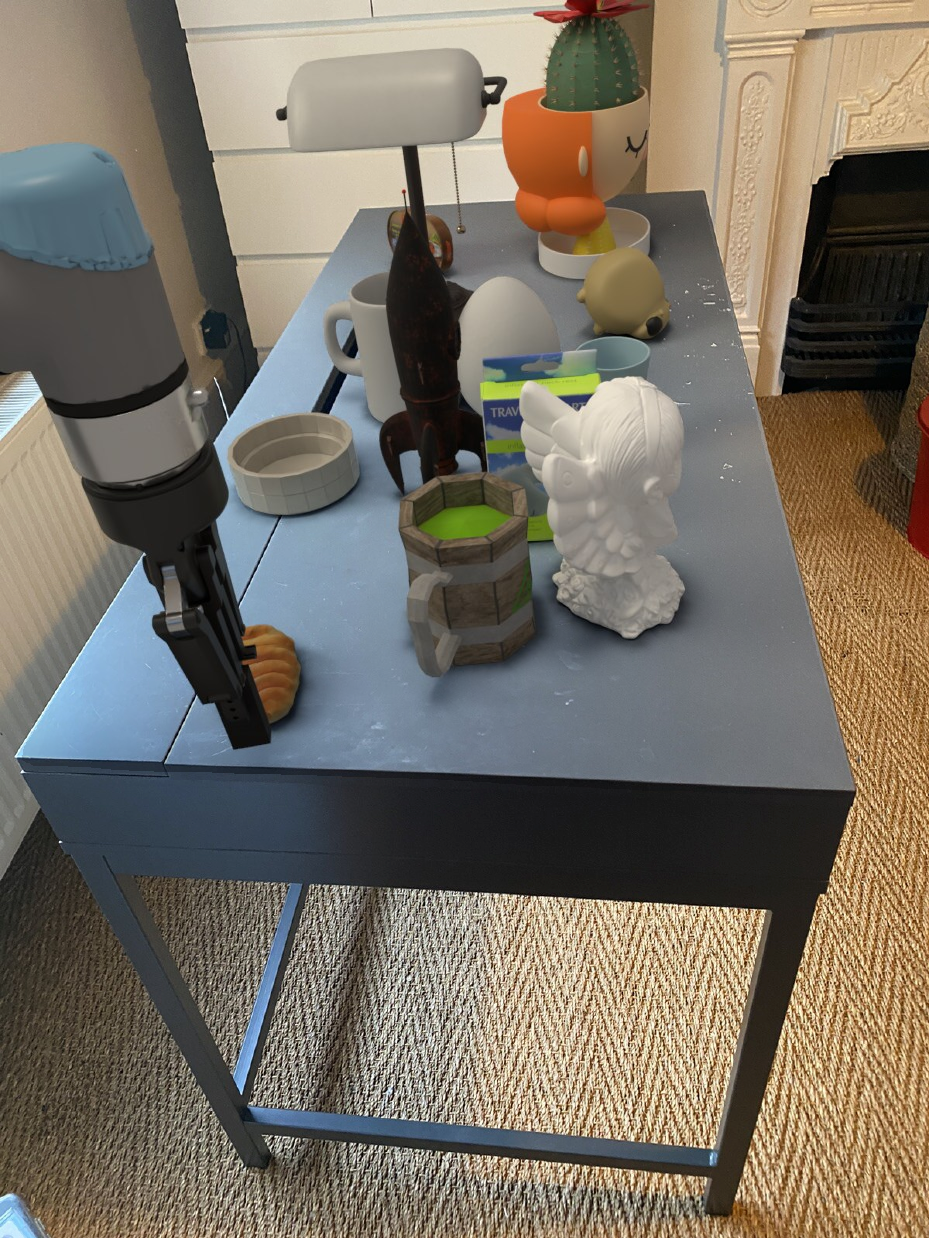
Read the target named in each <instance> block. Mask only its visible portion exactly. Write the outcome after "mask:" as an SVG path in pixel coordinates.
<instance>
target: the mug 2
mask: <svg viewBox="0 0 929 1238" xmlns="http://www.w3.org/2000/svg"><path fill="white" fill-rule="evenodd" d="M398 511H399V512H398V525H397V527H398V533H399V536H400V539H401V542H402V545H403V548H404V553H405V557H406V564H407V572H408V574H407V575H408V587H409V588H408V593H407V595H406V618H407V622H408V625H409V628H410V632H411V635H412V639H413V640H412V641H413V646H414V651H415V656H416V659H417V663H418V666H419V668H420V670H421V671H422V673H424V674H425V675H426V676H428V677H430V678H441V677H442V676H443V675H445V674H446V673H447V672H448V671H449V670H450V668H451V666H464V665H476V664H477V665H479V664H488V663H500V662H505V661H506V660H508V659H509V658H510V657H511V656H512V655H513V654H515V653H516V652H517V651H518V650H520V649H521V648H522V647H523V646H524V645H526V644H527V643H528V642H529V641H531V640H532V639H533V638H534V637H536V636H537V627H536V616H535V609H534V601H533V597H532V595H533V573H532V565H531V555H530V549H529V541H527V531H528V510H527V502H526V494H525V488H524V487H522V486H520V485H517V484H515V483H512V482H510V481H508V480H505V479H503V478H501V477H498V476H496V475H493V474H491V473H489V472H482V471H479V472H468V473H458V474H451V475H448V476H438V477H435V478H434V479H432V480H430V481H429V482H427V483H426V484H424V485H423V484H422V485H421V486H420V487H418V488H416V489H414V490H413V491H412V492H409V493H408V494H407V495H404V496H403V497H402V498H400V499H399V510H398Z"/></svg>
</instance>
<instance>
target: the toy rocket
mask: <svg viewBox="0 0 929 1238" xmlns="http://www.w3.org/2000/svg"><path fill="white" fill-rule="evenodd" d="M401 193H402V194H403V201H404V209H406V212H405V215H404V219H403V222H402V226H401V229H400V233H399V236H398V240H397V243H396V247H395V250H394V254H393V253H392V258H391V264H390V268H389V270H390V272H389V278H388V285H387V292H386V299H385V300H386V313H387V320H388V328H389V334H390V339H391V344H392V348H393V353H394V358H395V363H396V367H397V372H398V376H399V380H400V385H401V388H400V394H399V395H401V398H402V399H403V400H404V401H405V405H406V409H407V410H405V411H402V412H399V413H396V414H394V415H392V416H391V417H389V418H388V419H387V420H386V421H385V422H384V423H383V422H382V425H381V427H380V429H379V433H378V443H379V444H378V445H379V448H380V453H381V457H382V460H383V462H384V464H385V467H386V468H387V471H388V472H389V474H390V476H391V479H392V481H393V482H394V484H395V485H396V487H397V489H398V490H399V492H400V493H401V495H402V496H403V497H405V495H406V494H405V491H406V490H405V481H404V475H403V470H402V464H401V455H402V454H404V453H408V452H413V451H417V455H418V457H419V459H420V460H419V462H420V463H419V464H420V465H419V470H420V473H421V480H422V486H423V485H424V484H426V483H427V482H429V481H430V480H432V479H434V478H435V477H438V476H448V475H454V474H455V473H456V472H457V471H458V470H459V468H460V464H459V462H458V461H457V459H456V456H457V455H458V453H459V452H460V451H465V452H469V453H473V454H474V455H476V456H477V457H478V459H479V462H480V468H481V472H488V467H487V456H486V446H485V436H484V425H483V416H481V415H479V414H478V413H475V412H472V411H469V410H465V409H461V408H460V407H459V404H460V402H459V400H458V394H459V392H460V393H461V391H460V390H461V388H460V381H459V380H458V366H457V360H459V357H460V352H461V343H462V342H461V327H460V323H459V321H455V319H454V311H453V303H452V298H451V295H450V292H449V291H450V290H449V289H448V286H447V283H446V281H447V280H446V281H445V279H446V278H445V276H444V274H443V272H442V271H441V269H440V267H439V265H438V263H437V261H436V259H435V257H434V255H433V253H432V251H431V249H430V248H429V246H428V244H427V242H426V241H425V239H424V238H423V236H422V234H421V233H420V231H419V229H418V228H417V226H416V224H415V223H414V221H413V219H412V218H411V216H410V214H409V213H408V211H407V208H408V204H407V197H406V194H407V191H406V189H404V188H403V189H402V190H401Z"/></svg>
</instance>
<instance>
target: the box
mask: <svg viewBox="0 0 929 1238" xmlns="http://www.w3.org/2000/svg"><path fill="white" fill-rule="evenodd" d="M540 359H542V360H543V361H544V362H557V363H559V367H558V368H556V369H549V370H535V371H523V370H522V369H521V367H522V365H524V364H529V363H536V361H538V360H540ZM482 364H483V372H484V383H480V398H481V406H482V415H483V416H482V417H483V425H484V436H485V446H486V456H487V467H488V472H489V473H491V474H493V475H496V476H498V477H501V478H503V479H505V480H508V481H510V482H512V483H515V484H517V485H520V486H522V487H524V488H525V494H526V502H527V510H528V531H527V542H535V541H536V542H537V541H538V542H539V541H554V532H553V531H552V530H551V528H550V526H549V522H548V518H547V508H548V502H549V499H550V497H549V495H548V494H547V492H546V490H545V488H544V486H543V483H542V482H541V481H539V480H538V479H537V478H536V476H535V475H534V473H533V471H532V467H531V466H530V465H529V464H528V462H527V459H526V456H525V450H526V447H525V446H524V444H523V441H522V438H521V426H522V423H523V421H524V420H523V418H522V416H521V413H520V409H519V400H520V394H521V389H522V387H523V385H524V384H525V383H526V382H527V381H533V382H536V383H538V384H539V385H541V386H543V387H544V388H545V389H547V390H548V391H550V392H551V393H552V394H554V395H555V396H557V397H558V398H559V399H561V400H562V401H563V402H565V403H566V404H568V405H569V406H570V407H572V408H573V409H574V410H576V411H577V412H578V411H579V410H580V408H581V407H582V406H586V404H587V402H588V401H589V399H590V398H591V397H592V396H593V395H594V394H595V393H596V392H595V389H596V387H597V386H598V385H599V384H600V383H601V379H600V374H598V373H597V349H592V350H580V351H575V350H568V351H567V350H566V351H561V352H554V353H543V354H530V355H516V356H505V357H492V358H482Z"/></svg>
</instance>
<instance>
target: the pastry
mask: <svg viewBox="0 0 929 1238" xmlns="http://www.w3.org/2000/svg"><path fill="white" fill-rule="evenodd" d="M245 628H246V631H245V636H243V637H241V638H242V641H243V643H244V646H247V645H253V644H255V645H256V649H257V658H256V659H251V660H245V661H242V663H243V665H245V664H249V667H250V670H251V672H252V675H253V678H254V681H255V684H256V687H257V689H258V692H259V695H260V698H261V701H262V704H263V707H264V709H265V712H266V715H267V718H268V721H269V724H270V725H271V724H273V723H275V722H277V721H279V720H281V719H283V718H284V717H286V716H287V715H288V714H289V713H290V711H291V708H292V707H293V705H294V700H295V698H296V693H297V691H298V689H299V685H300V682H301V681H300V675H301V670H302V666H301V664H300V662H299V660H298V656H297V653H296V648H295V647H296V645H295V644H296V643H295V642H296V641H295V640H294V639H293V638H292V637H291V636H289V635H287V634H285V633H284V632H283V631H282V630H279V629H278V628H276V627H274V626H273V625H270V624H263V623H261V624H254V625H249V626H245Z"/></svg>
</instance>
